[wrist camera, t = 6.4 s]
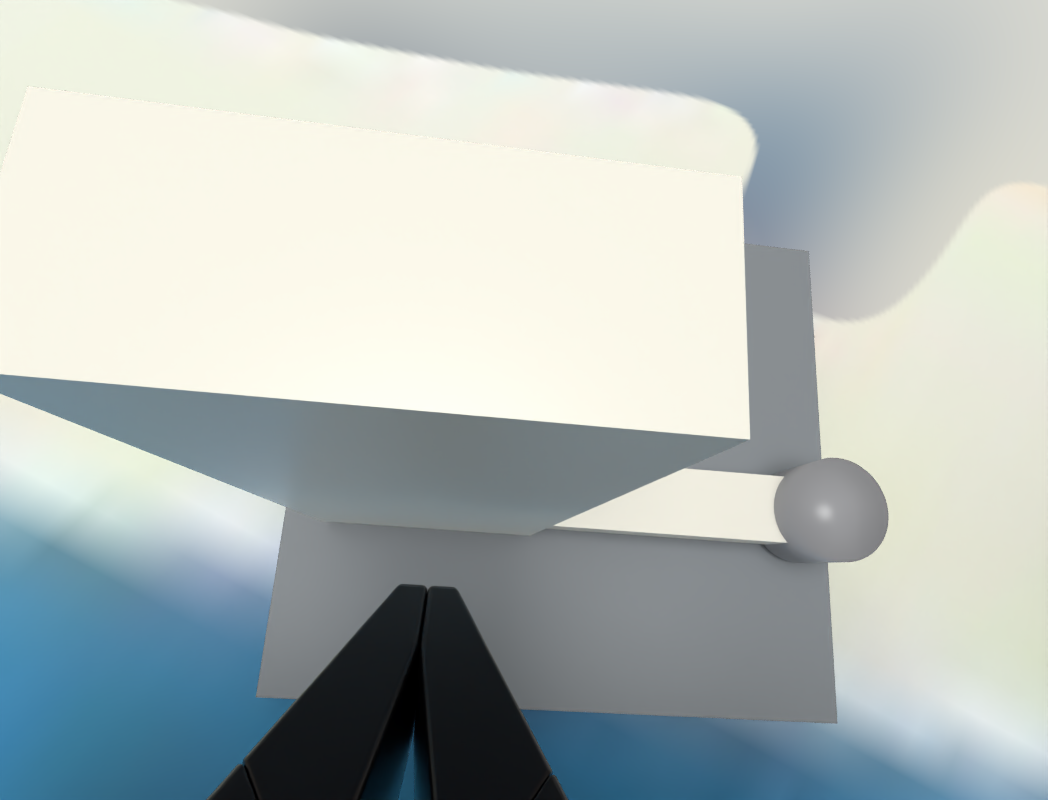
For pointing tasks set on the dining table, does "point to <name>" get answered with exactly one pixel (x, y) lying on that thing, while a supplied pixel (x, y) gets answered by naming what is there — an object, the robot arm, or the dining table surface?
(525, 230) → the dial crank handle
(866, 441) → the dining table surface
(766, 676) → the dial board
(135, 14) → the dining table surface
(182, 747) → the dining table surface
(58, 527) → the dining table surface
